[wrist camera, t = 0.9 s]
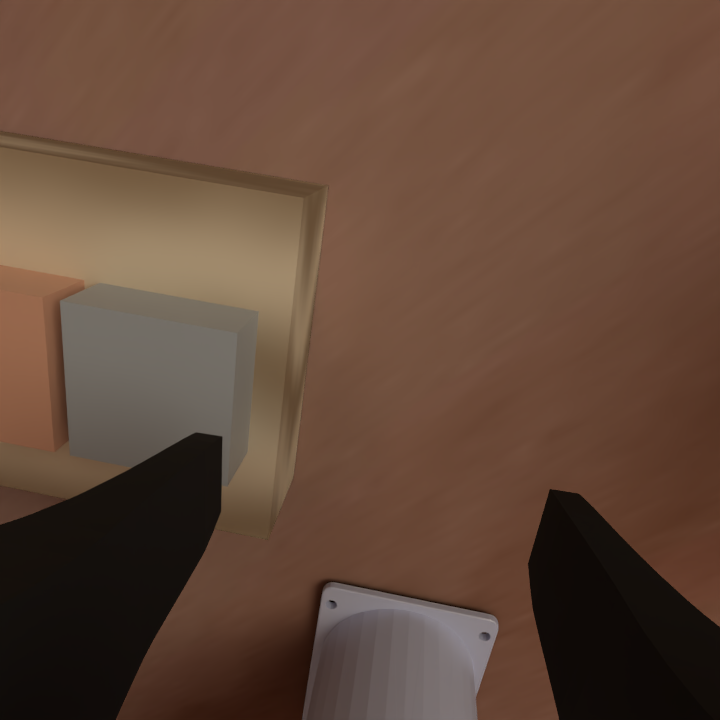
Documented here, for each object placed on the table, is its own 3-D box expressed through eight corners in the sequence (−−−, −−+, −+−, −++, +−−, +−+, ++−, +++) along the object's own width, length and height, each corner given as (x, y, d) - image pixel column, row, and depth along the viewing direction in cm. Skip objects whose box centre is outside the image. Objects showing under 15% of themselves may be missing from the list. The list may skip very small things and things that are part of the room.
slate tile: (247, 452, 19) (227, 486, 17) (105, 424, 19) (69, 455, 17) (258, 311, 17) (237, 333, 15) (99, 282, 17) (59, 300, 15)
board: (293, 477, 24) (268, 540, 20) (-18, 415, 25) (-98, 465, 21) (328, 185, 19) (303, 197, 15) (-58, 121, 20) (-169, 118, 16)
